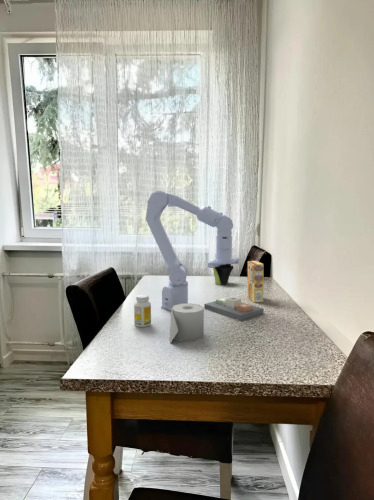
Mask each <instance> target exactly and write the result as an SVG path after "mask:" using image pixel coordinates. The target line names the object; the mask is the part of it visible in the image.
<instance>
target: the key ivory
mask: <svg viewBox="0 0 374 500" xmlns="http://www.w3.org/2000/svg"><path fill="white" fill-rule="evenodd" d="M225 298H226V307H229V308H233V309H235V308H236V307H237V305H240V304H241V302H242V298H240V297H235V296H230V297H225Z"/></svg>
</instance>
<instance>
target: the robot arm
mask: <svg viewBox="0 0 374 500" xmlns="http://www.w3.org/2000/svg"><path fill="white" fill-rule="evenodd" d="M167 207H170V208H171V207H175V208H176V207H177V208H180V209H181V210H184V211H186V212H187V213H190V214H192V215H195V216H196V218H197V221H199V222H201V223H204V224H205V225H208V226H209V227H212V228H216V243H215V244H216V250H215V251H216V254H215V255H216V256H215V257H216V258H215V260H212V261H207V268H211V269H213V267H215V269H216V271H217V273H218V276H219V279H220V283H221V285H220V286H226V285H228V284H227V282H228V283H229V280H230V275H231V273H232V271H233V269H234V266H233V265H235V264H236V265H237V264H238V265H239V264H240V258H238V257H237V258H236V257H232V256H233V236H232V233H233V231H232V229H233V228H234V223H233V220H232V219H231V218H230V217H229V216H227V215H225V214H224V213H223V212H219V211H216V210H214V209H213V208H212V207H211V206H210V205H207V206H206V205H203V206H201V207H200V206H197V205H196V204H193V203H191V202H189V201H188V200H187V199H186V200H185V199H184V198H182V197H180V196H178V195H175V194H171V193H167V192H165V191H163V190H156V191H153V192H152V193H151V194H150V195H149V198H148V200H147V207H146V213H145V220H146V223H147V226H148V227H149V229H150V231H151V233H152V236H153V238H154V240H155V243H156V244H157V247H158V249H159V251H160V253H161V255H162V256H161V257H163V260H164V262H165V265H166V269H167V271H168V279H169V281H168V284H167V285H165V286H163V287H162V289H161V304H162V305H160V306H161V308H163V309H165V310H168V311H169V312H171V309H172V307H173V306H174V305H178V304H187V303H189V282H188V281H187V275H188V271H187V267H186V266H184V265H183V264H182V263H181V261H180V259H179V258H178V256H177V254H176V251H175V249H174V247H173V245H172V243H171V240H170V238H169V236H168V234H167V232H166V230H165V228H164V227H165V226H164V225H163V223H162V220H161V216H162V214H163V211H165V209H166V208H167ZM223 214H224V215H223ZM228 279H229V280H228Z"/></svg>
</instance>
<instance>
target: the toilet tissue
mask: <svg viewBox="0 0 374 500" xmlns="http://www.w3.org/2000/svg"><path fill="white" fill-rule="evenodd" d="M204 312H205V309H204V306H202V305H201V304H197V303H189V302H188V303H187V304H178V305H174V306H173V307H172V309H171V311H170V313H171V314H170V323H169V324H170V326H169V340H168V341H169V343H170V344H171V343H172V341H173V340H176V341H179V342H184V343H185V342H196V341H200V340H202V339H203V338H204V335H205V330H204V329H205V327H204V326H205V325H204V324H205V323H204V321H205V320H204V319H205V318H204V317H205V313H204Z"/></svg>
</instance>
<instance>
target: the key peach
mask: <svg viewBox="0 0 374 500" xmlns="http://www.w3.org/2000/svg"><path fill="white" fill-rule="evenodd" d="M247 304H248V303H246V304H240V305H237V307H236V310H239V311H242V312H247V311H251V310H252V306H251V305H252V304H249V305H247Z"/></svg>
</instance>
